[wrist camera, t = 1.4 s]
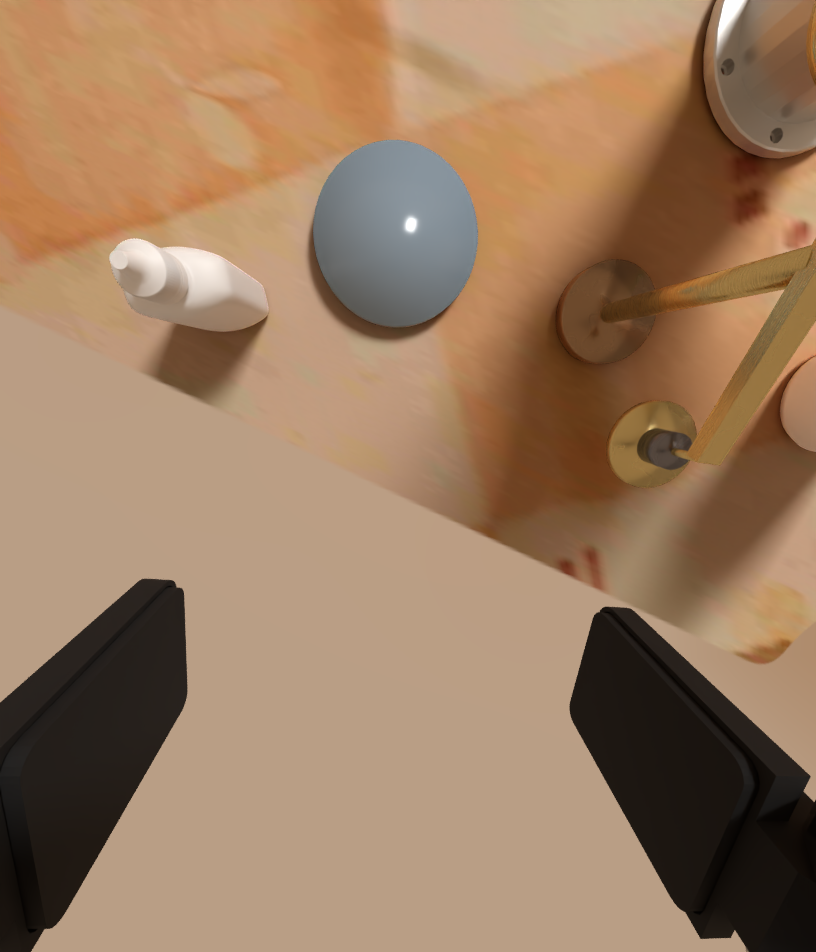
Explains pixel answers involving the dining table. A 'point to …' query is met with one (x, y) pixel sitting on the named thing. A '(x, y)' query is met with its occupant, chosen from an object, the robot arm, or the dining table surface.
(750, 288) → the balance
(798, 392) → the alcohol
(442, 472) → the dining table surface
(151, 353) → the dining table surface
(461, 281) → the grey flat round piece
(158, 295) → the eye dropper bottle
